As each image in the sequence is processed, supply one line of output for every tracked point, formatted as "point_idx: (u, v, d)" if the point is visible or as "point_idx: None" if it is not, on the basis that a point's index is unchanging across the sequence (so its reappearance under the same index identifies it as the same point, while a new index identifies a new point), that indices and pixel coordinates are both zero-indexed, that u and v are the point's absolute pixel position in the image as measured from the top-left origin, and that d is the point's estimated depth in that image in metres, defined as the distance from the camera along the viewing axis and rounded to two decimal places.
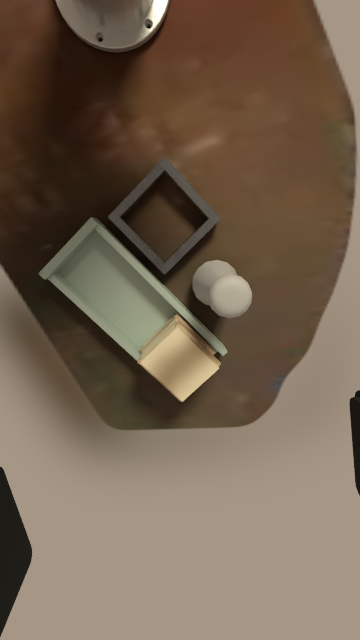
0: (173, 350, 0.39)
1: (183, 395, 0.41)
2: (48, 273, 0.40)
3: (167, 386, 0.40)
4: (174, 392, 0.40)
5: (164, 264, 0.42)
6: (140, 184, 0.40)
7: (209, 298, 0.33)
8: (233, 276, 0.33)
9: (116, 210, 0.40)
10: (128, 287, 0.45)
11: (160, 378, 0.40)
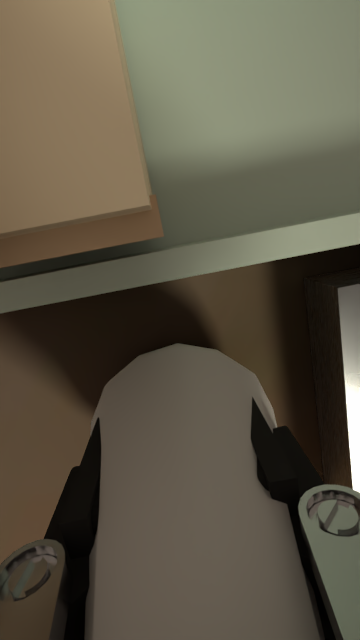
0: None
1: None
2: None
3: None
4: None
5: None
6: None
7: None
8: None
9: None
10: (354, 123, 0.11)
11: None
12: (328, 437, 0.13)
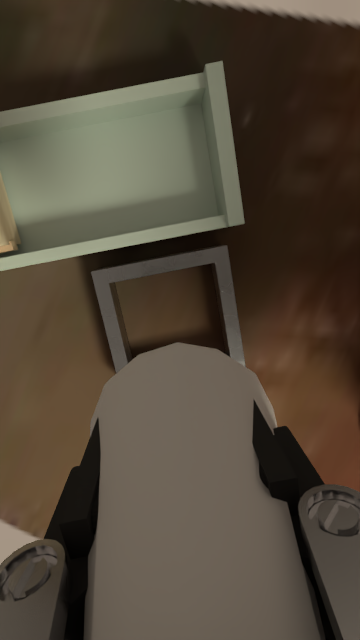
0: None
1: None
2: (211, 80, 0.20)
3: None
4: None
5: (106, 281, 0.24)
6: (236, 320, 0.25)
7: None
8: None
9: (226, 264, 0.24)
10: (107, 199, 0.24)
11: None
12: None
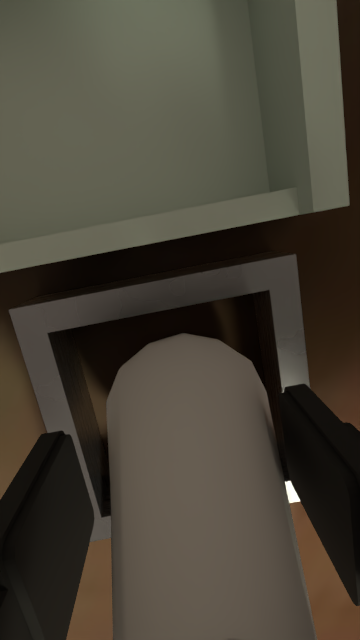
0: None
1: None
2: None
3: None
4: None
5: (43, 330, 0.11)
6: None
7: None
8: None
9: (293, 293, 0.11)
10: (48, 159, 0.12)
11: None
12: None
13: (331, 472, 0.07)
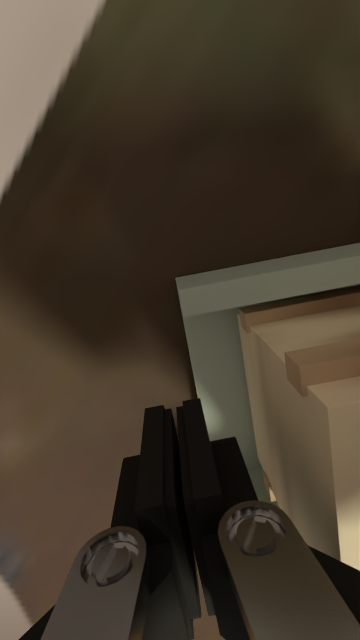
0: None
1: None
2: None
3: None
4: None
5: None
6: None
7: None
8: None
9: None
10: None
11: None
12: None
13: None
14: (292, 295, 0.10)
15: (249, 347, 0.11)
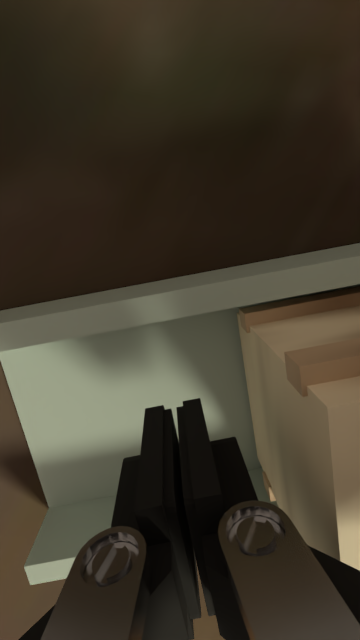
0: None
1: None
2: None
3: None
4: None
5: None
6: None
7: None
8: None
9: None
10: None
11: None
12: None
13: None
14: (56, 339, 0.10)
15: (249, 347, 0.11)
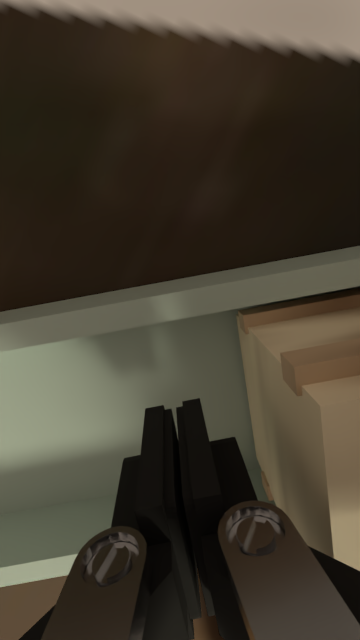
0: None
1: (352, 437, 0.06)
2: None
3: None
4: None
5: None
6: None
7: None
8: None
9: None
10: (238, 413, 0.14)
11: None
12: None
13: None
14: None
15: (248, 348, 0.11)
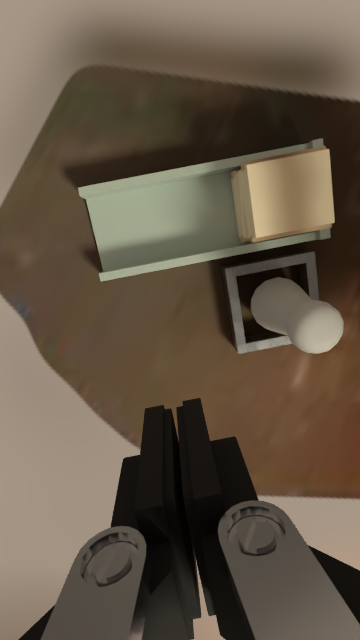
0: (313, 199, 0.29)
1: (253, 172, 0.29)
2: None
3: (278, 161, 0.29)
4: (265, 164, 0.29)
5: (234, 275, 0.36)
6: None
7: (331, 306, 0.27)
8: (335, 343, 0.28)
9: (313, 264, 0.36)
10: (232, 220, 0.37)
11: (293, 159, 0.29)
12: (230, 320, 0.39)
13: None
14: (112, 189, 0.33)
15: (234, 185, 0.34)
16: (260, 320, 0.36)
